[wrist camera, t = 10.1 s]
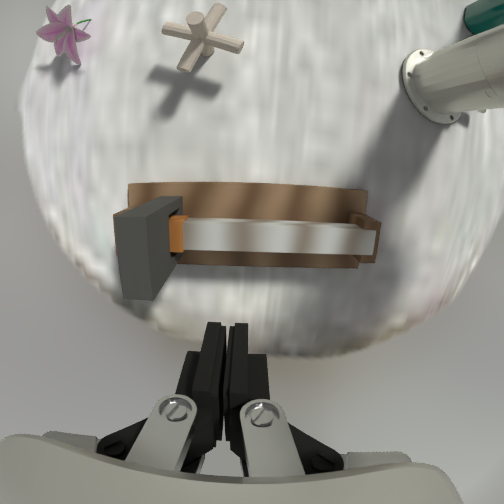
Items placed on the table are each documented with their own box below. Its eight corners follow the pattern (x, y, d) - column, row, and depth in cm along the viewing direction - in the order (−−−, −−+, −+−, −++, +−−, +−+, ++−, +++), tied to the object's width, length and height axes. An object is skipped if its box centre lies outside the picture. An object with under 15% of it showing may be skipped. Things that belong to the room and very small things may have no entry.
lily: (53, 34, 27) (15, 48, 20) (90, -16, 21) (50, -13, 14) (88, 70, 33) (51, 87, 27) (129, 20, 27) (92, 25, 21)
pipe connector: (226, 92, 32) (218, 68, 22) (159, 71, 30) (132, 47, 21) (257, 34, 29) (260, -3, 19) (191, 15, 28) (176, -21, 18)
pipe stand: (364, 190, 36) (388, 197, 29) (355, 265, 39) (374, 286, 32) (131, 183, 35) (107, 189, 28) (135, 259, 39) (115, 279, 32)
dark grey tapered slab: (182, 196, 35) (145, 216, 22) (183, 253, 37) (153, 300, 24) (160, 196, 34) (114, 217, 22) (162, 252, 37) (123, 298, 24)
